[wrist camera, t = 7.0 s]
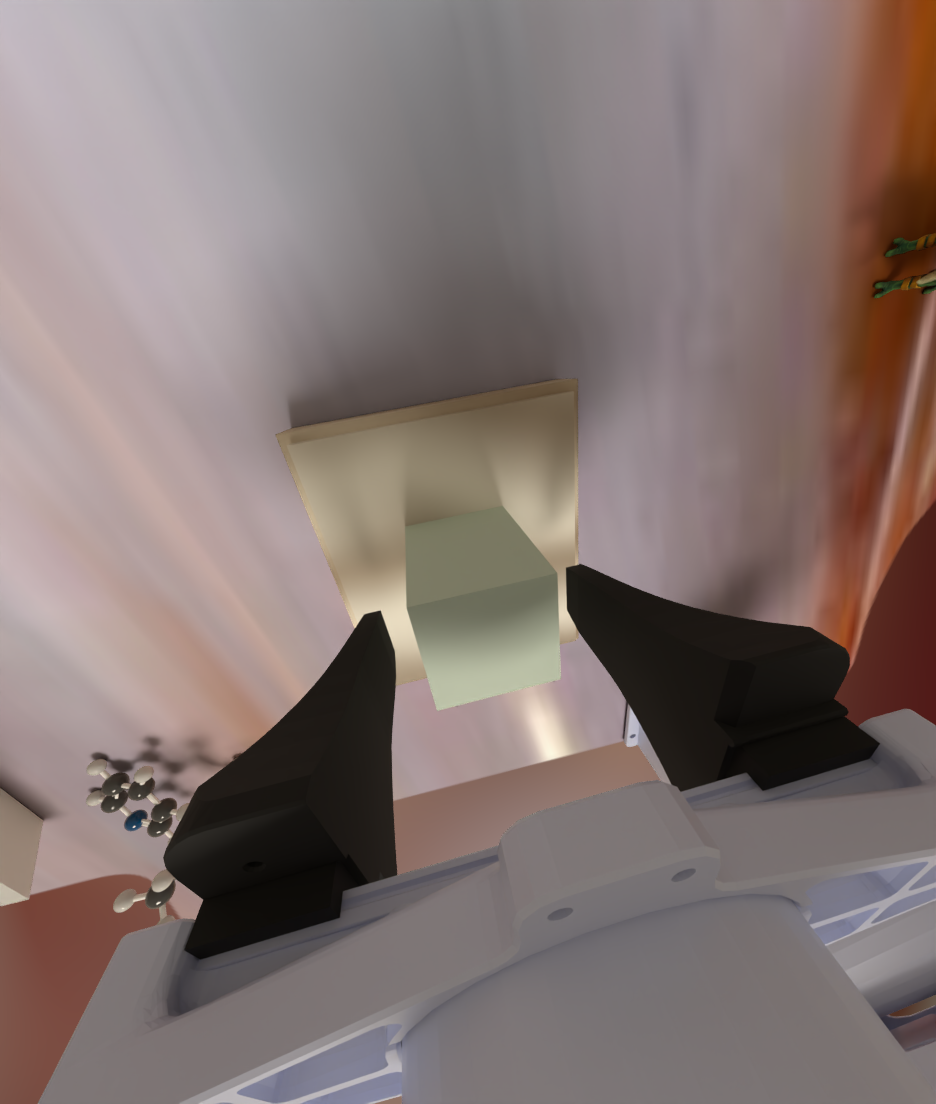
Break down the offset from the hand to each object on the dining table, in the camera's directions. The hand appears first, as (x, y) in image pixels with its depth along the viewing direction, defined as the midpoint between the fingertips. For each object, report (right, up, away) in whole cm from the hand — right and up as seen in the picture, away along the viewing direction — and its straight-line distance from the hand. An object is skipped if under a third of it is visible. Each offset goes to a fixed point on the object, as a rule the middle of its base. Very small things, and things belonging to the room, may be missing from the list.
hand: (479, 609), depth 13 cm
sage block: (-1, +2, +3) cm, 4 cm away
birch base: (-1, +3, +5) cm, 6 cm away
